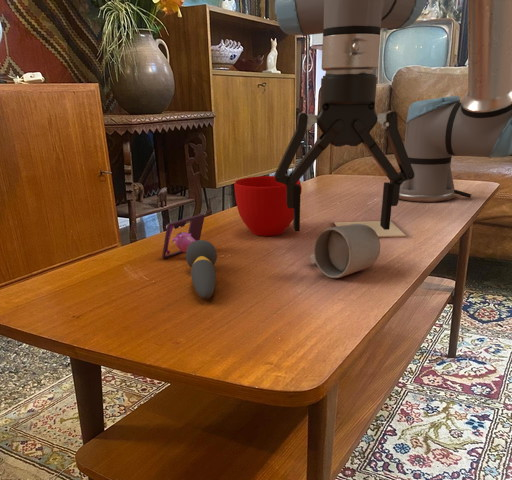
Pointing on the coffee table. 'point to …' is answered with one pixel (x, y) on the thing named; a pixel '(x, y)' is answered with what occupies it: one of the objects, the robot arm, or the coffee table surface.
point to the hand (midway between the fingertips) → (340, 228)
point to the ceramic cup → (263, 205)
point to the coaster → (377, 228)
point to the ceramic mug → (345, 249)
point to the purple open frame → (183, 234)
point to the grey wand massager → (202, 267)
